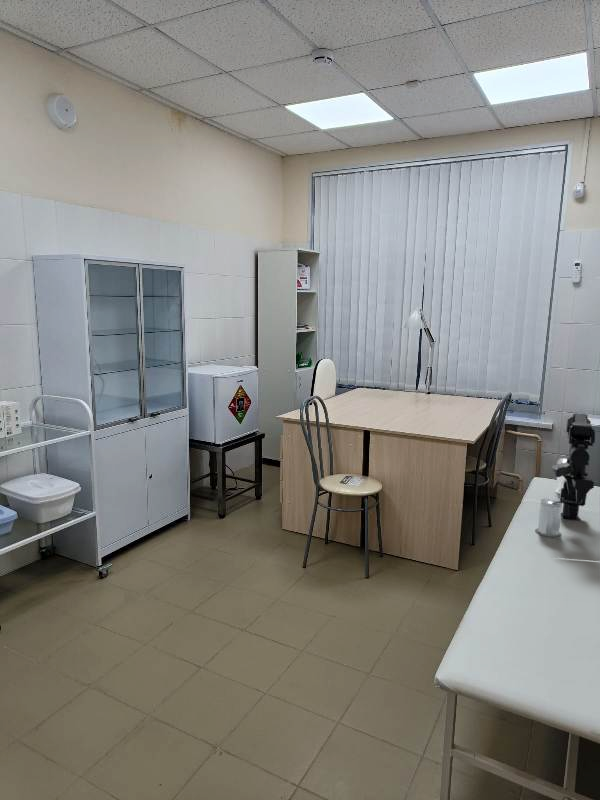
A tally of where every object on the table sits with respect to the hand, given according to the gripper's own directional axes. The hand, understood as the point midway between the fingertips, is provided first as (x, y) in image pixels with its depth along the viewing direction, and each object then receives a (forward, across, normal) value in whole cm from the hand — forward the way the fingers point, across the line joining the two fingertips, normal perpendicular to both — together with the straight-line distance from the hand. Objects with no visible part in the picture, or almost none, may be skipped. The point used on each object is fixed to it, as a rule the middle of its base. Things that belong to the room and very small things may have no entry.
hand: (574, 498), depth 204 cm
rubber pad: (+13, +4, -9) cm, 16 cm away
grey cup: (+12, +4, -9) cm, 16 cm away
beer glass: (+13, -44, +10) cm, 47 cm away
